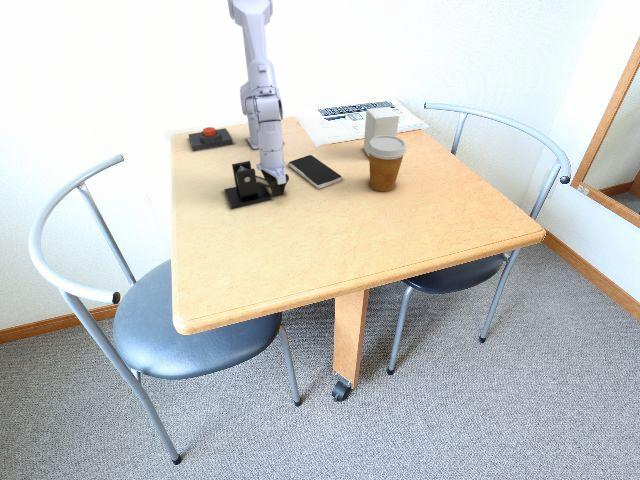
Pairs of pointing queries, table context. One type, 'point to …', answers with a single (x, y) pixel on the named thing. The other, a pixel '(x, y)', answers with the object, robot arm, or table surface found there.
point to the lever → (256, 176)
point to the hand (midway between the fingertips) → (275, 194)
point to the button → (209, 131)
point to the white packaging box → (380, 124)
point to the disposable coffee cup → (385, 161)
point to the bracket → (246, 187)
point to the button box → (210, 140)
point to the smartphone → (315, 171)
